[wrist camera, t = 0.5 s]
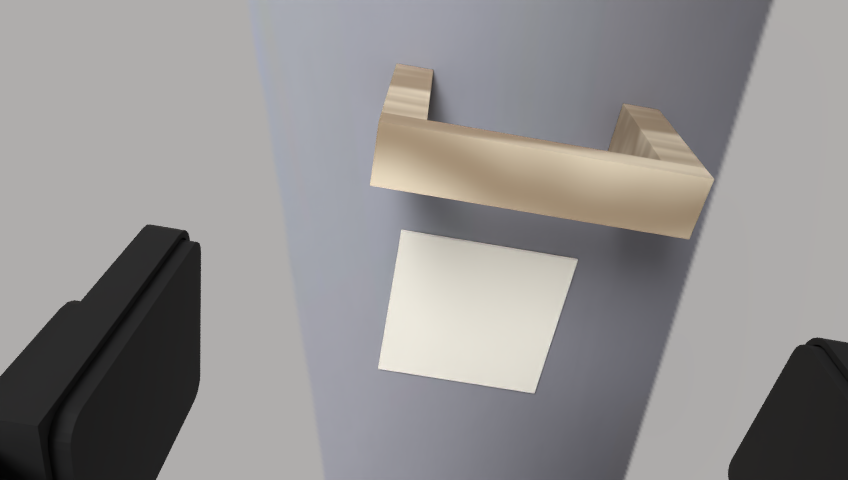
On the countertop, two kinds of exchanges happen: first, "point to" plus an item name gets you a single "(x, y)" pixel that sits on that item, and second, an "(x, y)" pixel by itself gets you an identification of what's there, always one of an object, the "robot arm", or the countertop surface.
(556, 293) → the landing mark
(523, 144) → the bridge
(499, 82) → the countertop surface
